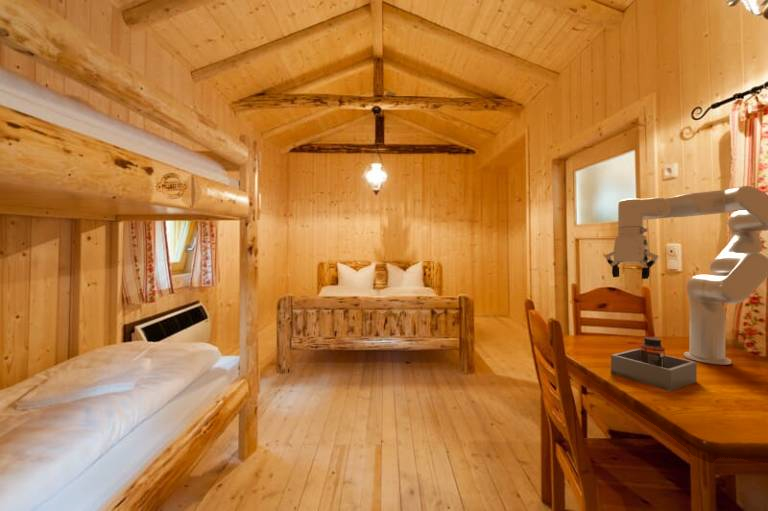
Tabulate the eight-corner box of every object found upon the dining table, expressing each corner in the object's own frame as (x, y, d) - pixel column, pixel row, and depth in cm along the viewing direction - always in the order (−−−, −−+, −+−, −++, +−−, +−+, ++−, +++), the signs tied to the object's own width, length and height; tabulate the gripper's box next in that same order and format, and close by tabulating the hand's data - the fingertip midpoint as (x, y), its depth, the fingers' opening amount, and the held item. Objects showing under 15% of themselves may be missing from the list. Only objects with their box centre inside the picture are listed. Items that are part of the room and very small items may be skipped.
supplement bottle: (669, 378, 101) (669, 341, 101) (647, 376, 102) (647, 340, 102) (657, 371, 107) (657, 336, 107) (636, 369, 108) (636, 335, 108)
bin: (637, 365, 115) (637, 348, 115) (696, 381, 101) (696, 362, 101) (610, 373, 108) (611, 354, 108) (670, 391, 94) (671, 370, 94)
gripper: (663, 231, 118) (662, 279, 118) (611, 233, 133) (611, 276, 133) (652, 230, 114) (652, 279, 114) (600, 233, 129) (600, 276, 130)
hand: (630, 277), depth 124 cm, fingers open, 9 cm apart
